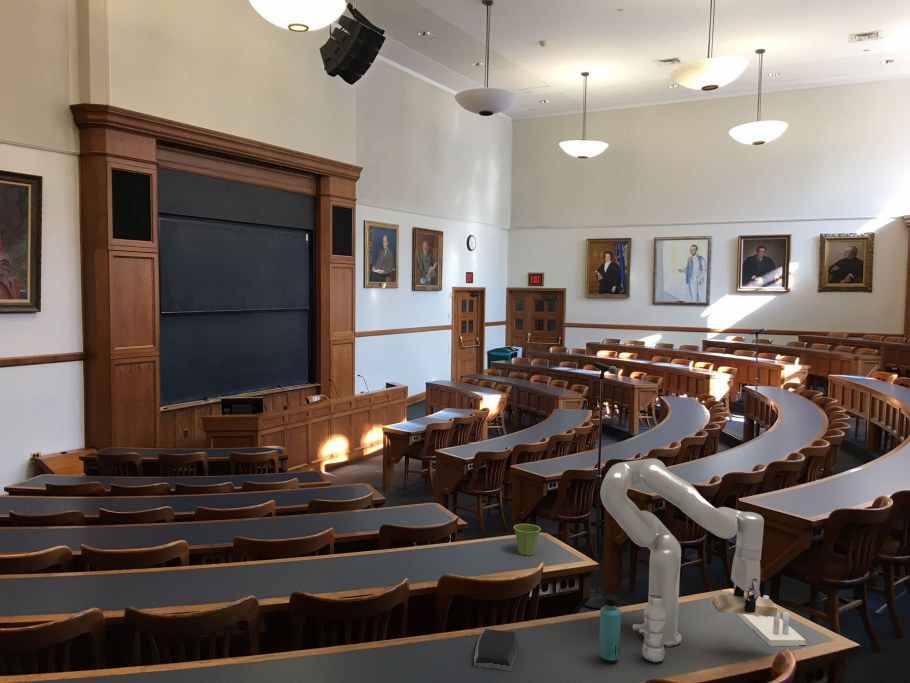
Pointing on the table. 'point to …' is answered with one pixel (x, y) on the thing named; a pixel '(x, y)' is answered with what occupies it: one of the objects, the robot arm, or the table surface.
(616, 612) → the beverage bottle
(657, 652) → the plastic bottle
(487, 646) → the external hard drive
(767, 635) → the peg stand
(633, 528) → the robot arm
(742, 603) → the shelf board
